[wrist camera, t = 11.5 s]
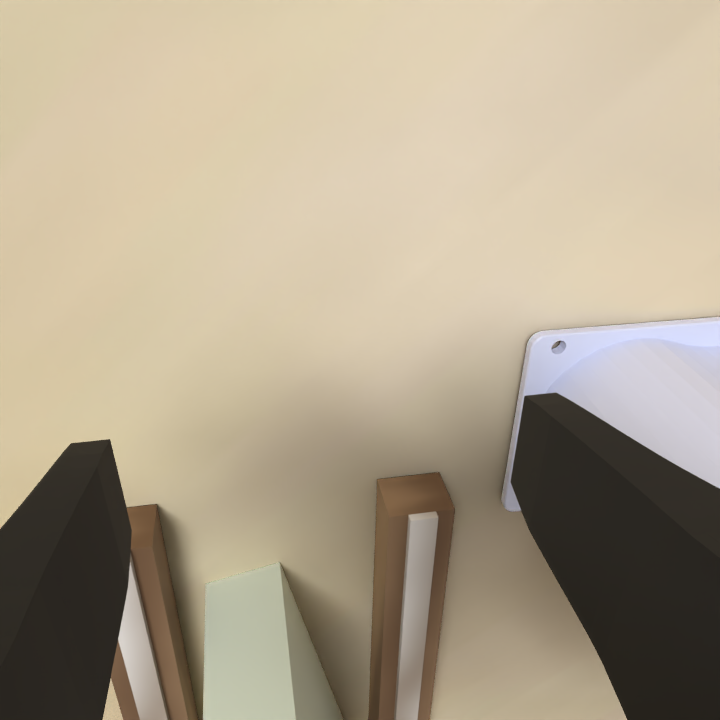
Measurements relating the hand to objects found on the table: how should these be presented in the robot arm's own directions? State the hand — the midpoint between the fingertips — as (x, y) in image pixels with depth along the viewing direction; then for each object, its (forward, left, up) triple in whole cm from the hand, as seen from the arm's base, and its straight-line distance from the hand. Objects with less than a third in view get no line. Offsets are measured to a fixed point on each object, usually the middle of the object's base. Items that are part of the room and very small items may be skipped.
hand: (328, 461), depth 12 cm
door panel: (+1, +19, -10) cm, 21 cm away
